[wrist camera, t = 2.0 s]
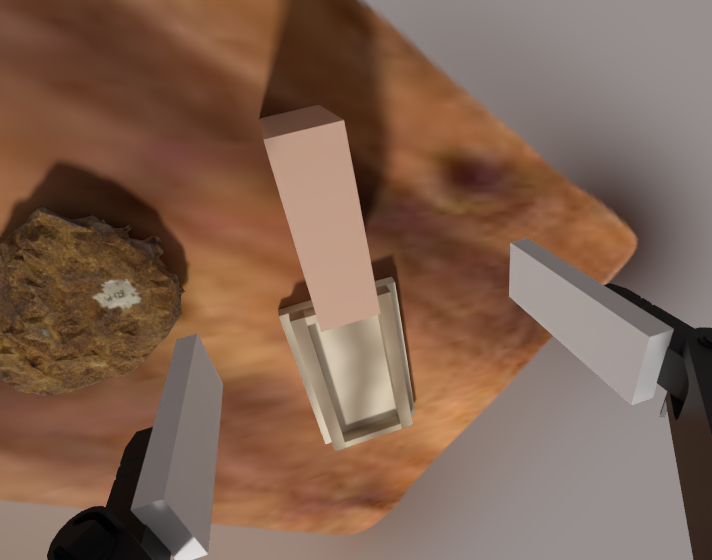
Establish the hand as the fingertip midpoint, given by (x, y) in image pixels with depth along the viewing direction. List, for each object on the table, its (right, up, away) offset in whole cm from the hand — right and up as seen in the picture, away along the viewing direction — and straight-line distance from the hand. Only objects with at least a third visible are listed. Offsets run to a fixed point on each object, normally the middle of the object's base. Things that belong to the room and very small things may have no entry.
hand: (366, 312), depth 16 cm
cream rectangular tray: (-1, -7, +21) cm, 22 cm away
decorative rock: (-20, 0, +13) cm, 24 cm away
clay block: (-4, +7, +13) cm, 15 cm away
